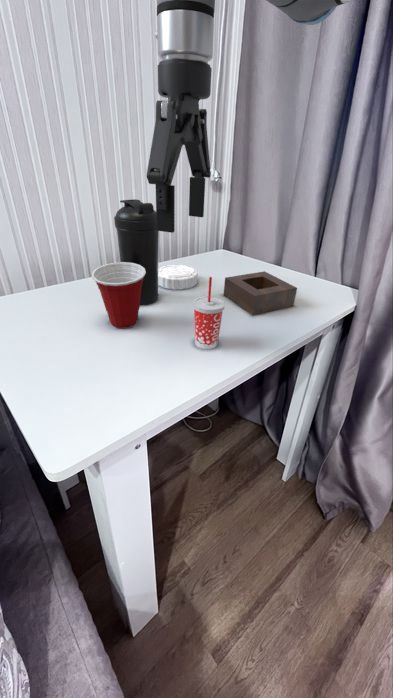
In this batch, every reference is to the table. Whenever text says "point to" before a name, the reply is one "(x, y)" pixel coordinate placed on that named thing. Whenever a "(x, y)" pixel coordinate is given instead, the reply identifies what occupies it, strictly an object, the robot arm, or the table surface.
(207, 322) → the beverage cup
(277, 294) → the holder
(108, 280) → the plastic cup
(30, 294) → the table surface
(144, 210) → the water bottle
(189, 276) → the mooncake
